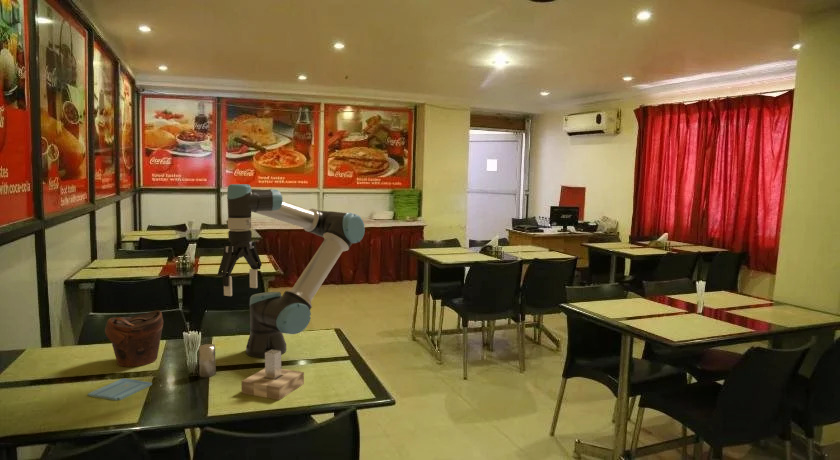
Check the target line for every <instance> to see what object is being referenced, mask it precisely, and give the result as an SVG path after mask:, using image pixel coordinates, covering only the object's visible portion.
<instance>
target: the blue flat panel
mask: <svg viewBox="0 0 840 460" xmlns="http://www.w3.org/2000/svg"><path fill="white" fill-rule="evenodd" d="M152 385H153V382H151V381H150V382H149V381H143V380H136V379H132V378H131V379H130V378H121V379H119V380H118V379H117V380H116V381H114V382H111V383H109V384H107V385H104V386H102V387H99V388H97V389H95V390H93V391H91V392H89V393H87V396H88V397H93V398H99V399H105V400H110V401H121V400H123V399H126V398H128V397H129V396H132V395H133V394H136V393H138V392H140V391H143V390H145V389H147V388H149V387H151V386H152Z"/></svg>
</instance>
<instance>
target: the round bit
mask: <svg viewBox="0 0 840 460" xmlns="http://www.w3.org/2000/svg"><path fill="white" fill-rule="evenodd" d="M198 363H199V377H201V378H211V377H214V376H215V375H217V374H216V373H217V367H216V344H213V343H205V344H204V343H203V344H201V345H200V346H198Z"/></svg>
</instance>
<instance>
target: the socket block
mask: <svg viewBox="0 0 840 460" xmlns="http://www.w3.org/2000/svg"><path fill="white" fill-rule="evenodd" d="M240 383H241V394H243V395H244V394H245V395H249V396H256V397H260V398H266V399H272V400H278V401H280V400H283V398H285V397H287V396H288V395H289V394H291V393H293V392H294V391H295V390H297V389H298V388H300V387H301V386H303V385H304V384H305V372H304V371H299V370H292V369H285V368H281V377H280V378H278V379H276V380H271V379H265V367H264V368H263V369H261V370H258V371H257V372H255V373H254V374H252V375H250V376H248V377H246V378H245V379H243V380H241V381H240Z"/></svg>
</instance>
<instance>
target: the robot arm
mask: <svg viewBox="0 0 840 460" xmlns="http://www.w3.org/2000/svg"><path fill="white" fill-rule="evenodd" d="M226 195H227V196H226V198H227V199H226V201H227V229H228V233H227V234H228V235H227V236H228V237H227V239H228V240H227V241H228V242H230V245H229V246H228V245H225V246H224V247H223V254H222V258H221V261H220V265H219V268H218V270H217V271H218V272H217V275H218V276H220V277H222V285H223V296H227V297H232V296H233V278H232V275H231V274H232V271H234V268H235V266H236V264H237V262H238V260H239V259H240V258H244V260H245V261H246V262H247V264H248V266H249V267H250V269H249V272H248V273H249V288H252V289H257V288H258V287H259V286H258V277H259V275H258V270H260V269H261V267H262V266H263V264H262V261H261V259H260V256H259V253H258V250H257V244H256V242H255V241H252V240H253V238H252V230H251V229H252V213H256V214H259V215H262V216H265V217H268V218H272V219H275V220H278V221H281V222H285V223H286V224H287V223H288V224H291V225H294V226H298V227H300V228H302V229H303V230H304V231H305V232H308V233H311V234H314V235H316V236H318V237H322V238H323V242H321V244H320V246H319V247H318V249H317V250H316V252H315V253H314V255H313V256H312V258H311V259H310V261H309V262H308V264H307V265H306V267H305V268H304V270H303V271H302V273H301V274H300V276H299V277H298V279H297V280H296V282H295V283H294V285H293V286H292V288H291V289H288V290H287V289H286V290H285V291H284V293H283V294H281V292H280V291H267V292H260V293H254V294H252V295H251V296H250V297H249V321H250V322H249V323H250V333H249V337H248V340H247V342H246V347H245V351H246V352H245V354H246V355H247V356H249V357H253V358H265V353H266V352H268V351H270V350H278V351H281V355H283V354H284V353H285V352H287V342H286V340H285V337H284V334H288V335H297V334H299V333H302V332H303V331H304V330H305V329H306V328H307V327H308V326H309V324H310V322H311V316H312V312H311V309H312V308H313V305H312V300H314V297H315V295H316V294H317V293H318V291H319V289H320V288H321V286H322V284H323V283H324V282H325V279H327V277H328V275H329V274H330V272H331V270H332V269H333V267H334V266H335V264H336V263H337V261H338V259H339V258H340V257H341V255H342V253H343V252H346V251H349V250H350V247H351V246H352V245H353V244H357V243H360V242H361V241H362V240H363V238H364V236H365V231H366V229H365V223H364V219H362V217H361V216H360V215H359V214H357V213H352V212H343V211H342V212H340V211H331V210H330V211H327V210H319V209H315V208H310V209H307V208H305V207H302V206H298V205H296V204H294V203H293V204H292V203H290V202H288V201H283V195H282V193H281V191H279V190H278V189H272V188H270V189H263V188H262V189H259V188H258V189H257V188H252V187H251V185H250V184H247V183H246V184H245V183H241V184H240V183H232V184H231V183H230V184H229V185H228V186H227V194H226Z"/></svg>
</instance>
